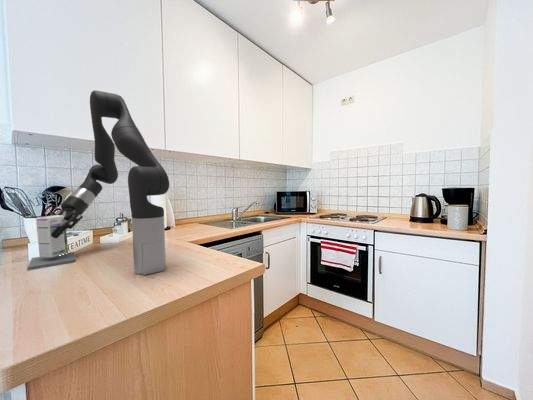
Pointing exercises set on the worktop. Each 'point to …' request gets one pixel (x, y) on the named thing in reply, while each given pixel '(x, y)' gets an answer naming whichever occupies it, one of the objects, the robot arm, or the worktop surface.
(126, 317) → the worktop surface
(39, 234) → the syrup box
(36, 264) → the mat
